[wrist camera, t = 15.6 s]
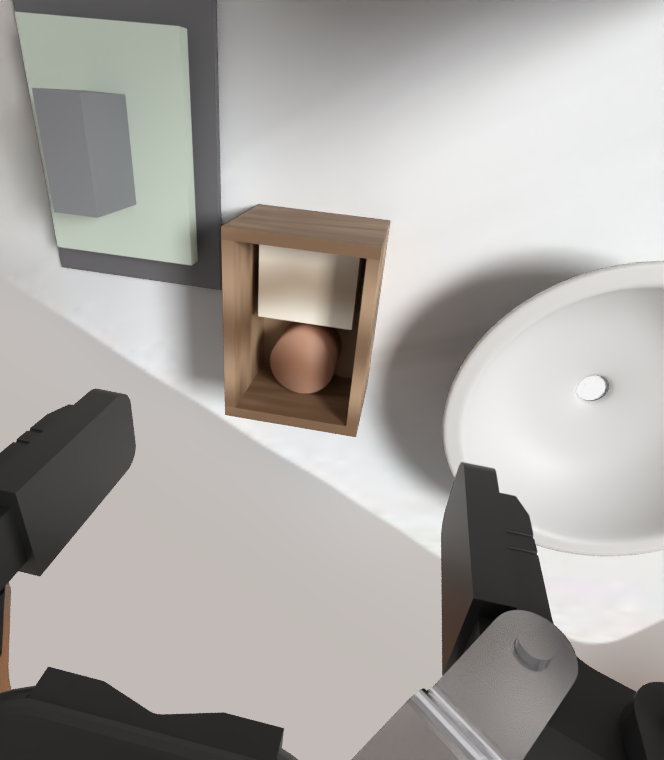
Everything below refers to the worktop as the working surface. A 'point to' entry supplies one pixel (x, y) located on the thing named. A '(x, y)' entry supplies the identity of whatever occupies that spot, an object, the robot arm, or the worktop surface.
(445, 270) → the worktop surface
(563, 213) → the worktop surface
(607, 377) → the white sink basin
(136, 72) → the lid
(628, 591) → the worktop surface
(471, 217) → the worktop surface
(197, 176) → the rubber mat
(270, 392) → the walnut box
